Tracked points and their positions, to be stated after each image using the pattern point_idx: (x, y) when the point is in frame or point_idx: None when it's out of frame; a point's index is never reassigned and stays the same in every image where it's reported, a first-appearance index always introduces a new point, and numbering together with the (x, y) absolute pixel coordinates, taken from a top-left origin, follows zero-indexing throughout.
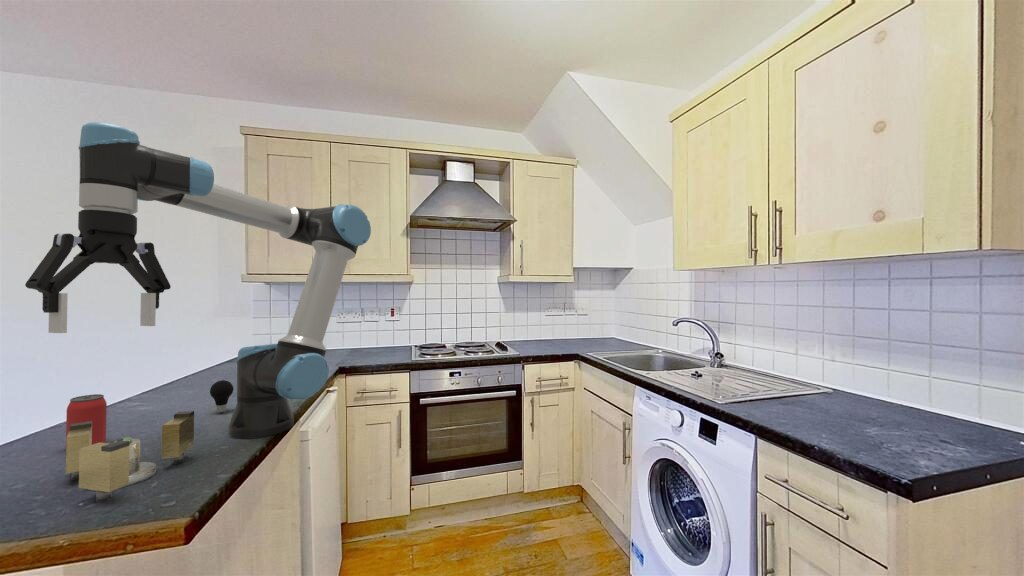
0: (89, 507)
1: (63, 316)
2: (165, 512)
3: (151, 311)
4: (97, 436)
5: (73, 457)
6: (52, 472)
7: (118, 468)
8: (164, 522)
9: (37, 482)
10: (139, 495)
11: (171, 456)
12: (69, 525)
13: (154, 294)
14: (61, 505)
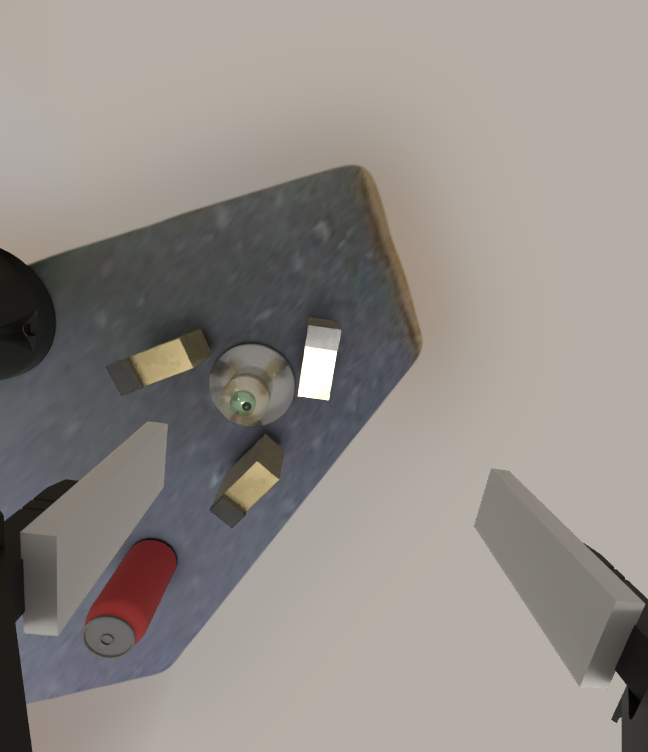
0: (339, 343)
1: (539, 510)
2: (348, 212)
3: (133, 458)
4: (145, 552)
5: (276, 455)
6: None
7: (325, 322)
8: (374, 187)
9: (277, 493)
10: (302, 303)
11: (205, 339)
12: (384, 321)
13: (42, 524)
14: (336, 388)
